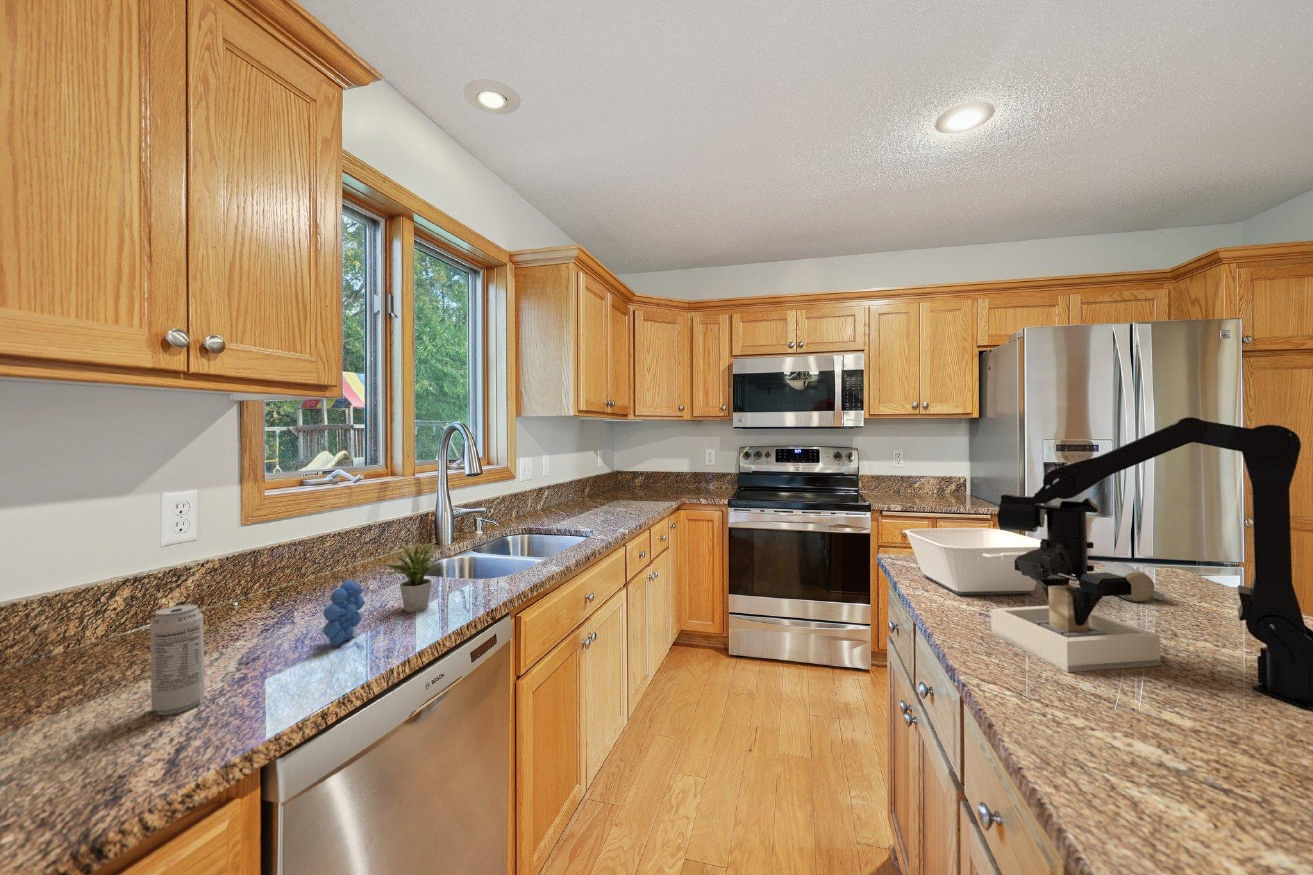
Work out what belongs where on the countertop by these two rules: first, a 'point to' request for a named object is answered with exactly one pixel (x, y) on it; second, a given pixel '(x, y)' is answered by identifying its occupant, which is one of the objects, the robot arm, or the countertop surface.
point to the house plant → (414, 578)
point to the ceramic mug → (1134, 582)
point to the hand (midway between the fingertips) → (1068, 621)
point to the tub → (973, 559)
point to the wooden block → (1063, 610)
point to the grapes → (343, 612)
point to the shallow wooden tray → (1076, 640)
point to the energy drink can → (177, 659)
